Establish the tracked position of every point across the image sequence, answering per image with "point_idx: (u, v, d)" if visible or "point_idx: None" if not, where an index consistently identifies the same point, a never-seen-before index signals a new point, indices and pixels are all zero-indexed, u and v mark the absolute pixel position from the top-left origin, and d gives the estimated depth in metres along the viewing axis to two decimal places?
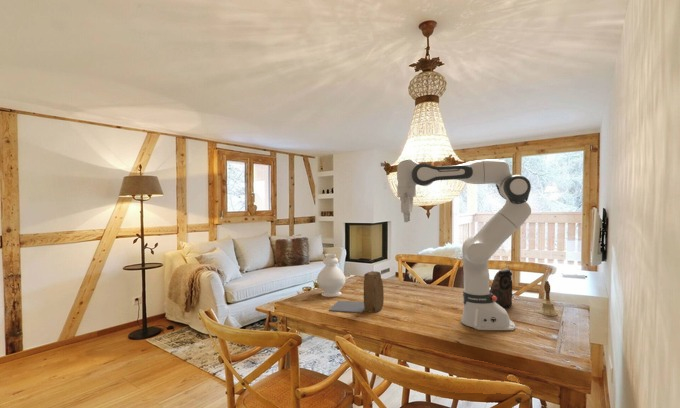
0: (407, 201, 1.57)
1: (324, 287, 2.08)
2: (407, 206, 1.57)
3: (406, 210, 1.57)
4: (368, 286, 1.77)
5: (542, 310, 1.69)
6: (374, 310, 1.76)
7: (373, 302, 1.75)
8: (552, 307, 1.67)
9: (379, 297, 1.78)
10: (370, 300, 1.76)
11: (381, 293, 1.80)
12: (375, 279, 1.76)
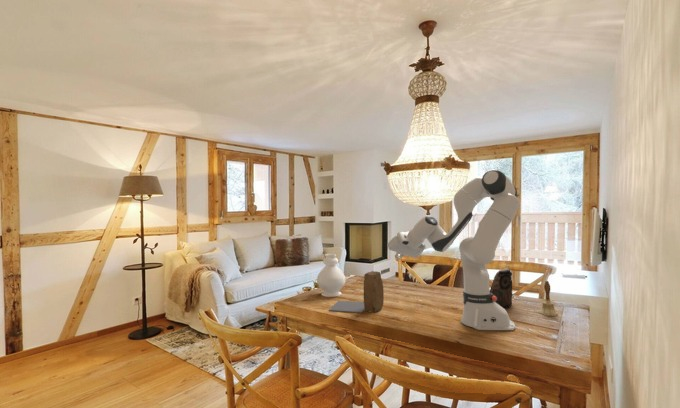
0: None
1: (324, 287, 2.08)
2: None
3: None
4: (368, 286, 1.77)
5: (542, 310, 1.69)
6: (374, 310, 1.76)
7: (373, 302, 1.75)
8: (552, 307, 1.67)
9: (379, 297, 1.78)
10: (370, 300, 1.76)
11: (381, 293, 1.80)
12: (375, 279, 1.76)
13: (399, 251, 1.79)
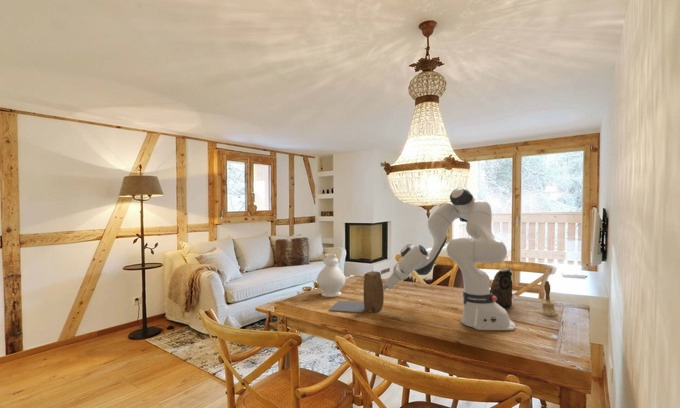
0: None
1: (324, 287, 2.08)
2: None
3: None
4: (368, 286, 1.77)
5: (542, 310, 1.69)
6: (374, 310, 1.76)
7: (373, 302, 1.75)
8: (552, 307, 1.67)
9: (379, 297, 1.78)
10: (370, 300, 1.76)
11: (381, 293, 1.80)
12: (375, 279, 1.76)
13: None
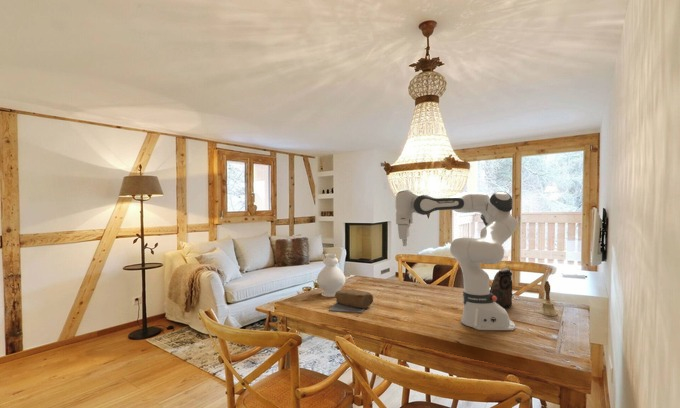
0: None
1: (324, 287, 2.08)
2: None
3: None
4: (342, 298, 1.88)
5: (542, 310, 1.69)
6: (362, 296, 1.80)
7: (354, 295, 1.83)
8: (552, 307, 1.67)
9: (357, 292, 1.87)
10: (352, 297, 1.83)
11: (357, 291, 1.90)
12: (340, 291, 1.91)
13: (407, 235, 1.81)
